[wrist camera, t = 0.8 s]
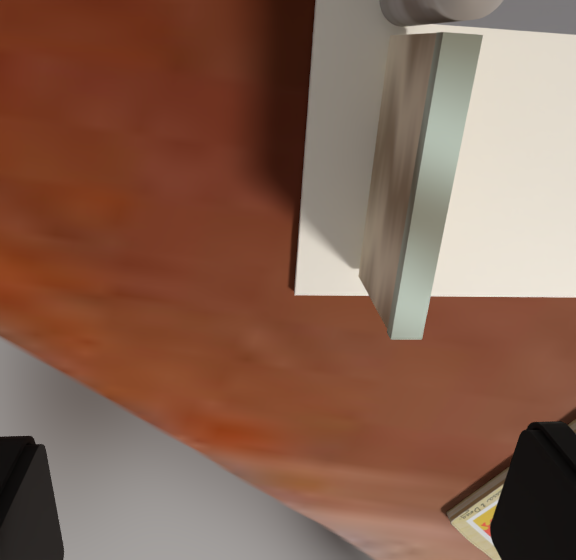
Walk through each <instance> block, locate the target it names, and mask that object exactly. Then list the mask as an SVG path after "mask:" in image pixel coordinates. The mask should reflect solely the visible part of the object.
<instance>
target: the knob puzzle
mask: <svg viewBox="0 0 576 560" xmlns="http://www.w3.org/2000/svg"><path fill="white" fill-rule="evenodd" d="M568 426H569V427H570V428H571V429H572V430H573V431H574V432H575V433H576V419H575V420H574V421H572V422H571V423H569V424H568ZM508 470H509V467H508V468H507V469H505V470H504V471H503V472H501V473H500V474H498V475H497V476H496V477H494V478H493V479H492V480H490V481H489V482H487V483H486V484H485V485H483V486H482V487H481V488H479V489H478V490H476V491H475V492H474V493H472V494H471V495H470V496H468V497H467V498H465V499H464V500H463V501H461V502H460V503H459V504H457V505H456V506H454V507H453V508H452V509H450V510H449V511H448V512H447V516H448V518H449V520H450V522H451V524H452V525H453V526H454V527H455V528H456V529H457V530H458V531H459V532H460V533H461V534H462V535H463V536H464V537H465V538H466V539H467V540H469V541H470V542H471V543H472V544H473V545H475V546H476V547H477V548H479V549H480V550H482V551H483V552H484V553H485V554H487V555H488V556H489V557H490V558H491V559H492V560H501V558H500V556H499V554H498V552H497V550H496V548H495V547H494V544H493V542H492V539H491V534H490V525H491V521H492V518H493V515H494V512H495V509H496V506H497V503H498V500H499V497H500V494H501V491H502V488H503V485H504V482H505V479H506V476H507V473H508Z"/></svg>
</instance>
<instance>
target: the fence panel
mask: <svg viewBox="0 0 576 560" xmlns="http://www.w3.org/2000/svg"><path fill="white" fill-rule="evenodd" d="M482 38H483V35H477V34H464V33H450V32H437V33H424V34H406V35H390V39H389V47H388V54H387V62H386V70H385V77H384V85H383V92H382V100H381V108H380V115H379V123H378V131H377V138H376V146H375V153H374V161H373V169H372V176H371V184H370V192H369V199H368V207H367V214H366V222H365V230H364V237H363V245H362V253H361V260H360V268H359V275H358V276H359V278H360V280H361V282H362V284H363V286H364V287H365V289H366V291H367V293H368V295H369V296H370V298H371V300H372V302H373V304H374V306H375V307H376V309H377V311H378V313H379V315H380V316H381V318H382V320H383V322H384V324H385V326H386V327H387V333H388V335H389V337H390V339H422V336H423V331H424V326H425V321H426V316H427V311H428V306H429V301H430V296H431V291H432V287H433V282H434V277H435V272H436V267H437V262H438V257H439V252H440V247H441V242H442V237H443V232H444V227H445V222H446V217H447V212H448V207H449V202H450V197H451V192H452V187H453V182H454V177H455V172H456V167H457V162H458V157H459V152H460V147H461V142H462V137H463V132H464V127H465V122H466V117H467V113H468V108H469V103H470V98H471V93H472V88H473V83H474V78H475V73H476V68H477V63H478V58H479V53H480V48H481V43H482Z"/></svg>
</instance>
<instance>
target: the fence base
mask: <svg viewBox="0 0 576 560" xmlns="http://www.w3.org/2000/svg"><path fill="white" fill-rule="evenodd" d="M379 2H380V8H381V11H382V13H383V15H384V17H385V18H386V19H387V20H388V21H389V22H390V23H392V24H393V25H396V26H400V27H407V26H417V25H427V24H437V23H447V22H457V21H466V20H475V19H480V18H483V17H485V16H487V15H489V14H490V13H492V12H493V11H494V10H495V9H496V8H497V7H498V6H499V5H500V4H501V3H502V2H503V0H379Z"/></svg>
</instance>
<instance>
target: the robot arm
mask: <svg viewBox="0 0 576 560" xmlns="http://www.w3.org/2000/svg"><path fill="white" fill-rule="evenodd" d="M490 534H491V539H492V542H493V544H494V547H495V548H496V550H497V552H498V554H499V556H500V558H501V560H576V433H575V432H574V431H573V430H572V429H571V428H570V427H569V426H568V425H567V424H566V423H564V422H561V421H559V422H533V423H531V424H530V425H529V426H528V428H527V429H526V430H524V431H522V432H521V434H520V436H519V439H518V442H517V445H516V448H515V451H514V454H513V458H512V461H511V464H510V467H509V470H508V473H507V476H506V479H505V482H504V485H503V488H502V491H501V494H500V497H499V500H498V503H497V506H496V509H495V512H494V515H493V518H492V521H491V525H490ZM63 557H64V548H63V541H62V536H61V531H60V525H59V520H58V514H57V508H56V503H55V498H54V492H53V487H52V482H51V476H50V470H49V465H48V459H47V454H46V449H45V446H44V445H42V444H35V441H34V438H33V437H31V436H11V437H0V560H63Z"/></svg>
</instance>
